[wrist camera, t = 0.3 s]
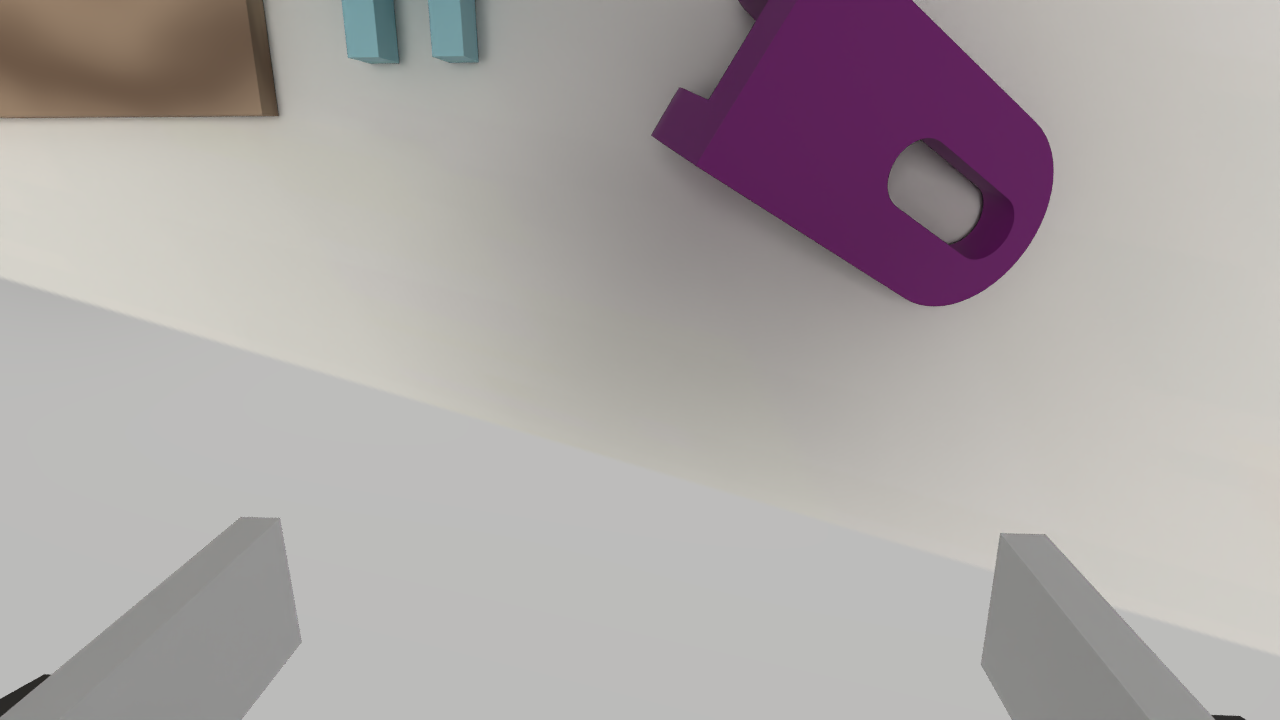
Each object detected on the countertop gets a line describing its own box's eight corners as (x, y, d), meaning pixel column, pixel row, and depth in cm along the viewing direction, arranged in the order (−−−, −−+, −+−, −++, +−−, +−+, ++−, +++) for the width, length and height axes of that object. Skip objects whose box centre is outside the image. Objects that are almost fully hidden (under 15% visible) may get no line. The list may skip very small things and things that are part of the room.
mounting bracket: (965, 134, 41) (739, -69, 32) (1086, 172, 34) (841, -72, 25) (865, 272, 44) (629, 120, 35) (959, 334, 37) (695, 164, 28)
